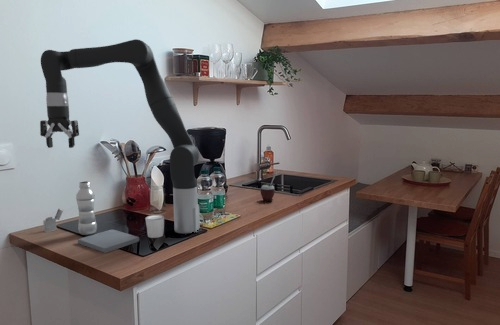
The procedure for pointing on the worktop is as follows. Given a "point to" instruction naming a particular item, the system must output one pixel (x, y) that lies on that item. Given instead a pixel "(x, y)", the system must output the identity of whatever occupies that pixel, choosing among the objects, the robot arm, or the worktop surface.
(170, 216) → the worktop surface
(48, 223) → the lighter
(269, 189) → the mate gourd
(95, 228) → the plastic bottle
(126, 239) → the board
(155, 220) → the white cup
